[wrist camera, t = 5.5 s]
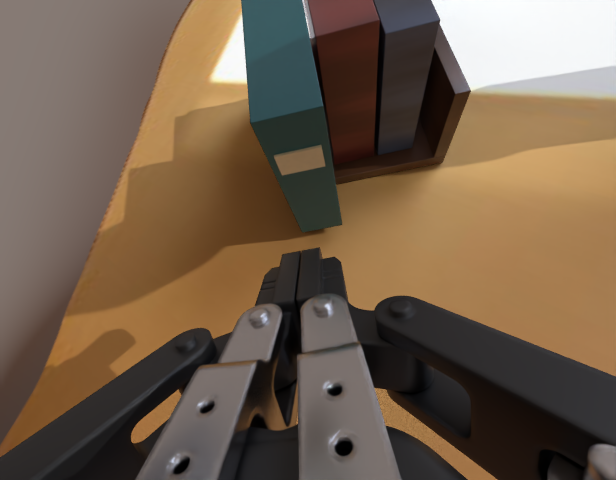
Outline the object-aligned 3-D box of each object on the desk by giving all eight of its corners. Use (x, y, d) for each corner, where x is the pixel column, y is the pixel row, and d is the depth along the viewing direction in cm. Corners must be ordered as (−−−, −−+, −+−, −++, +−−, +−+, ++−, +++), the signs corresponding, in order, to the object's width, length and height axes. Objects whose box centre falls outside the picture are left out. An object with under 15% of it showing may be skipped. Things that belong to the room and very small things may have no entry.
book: (289, 137, 35) (240, -10, 21) (323, 129, 34) (296, -26, 21) (302, 234, 30) (250, 126, 16) (342, 226, 30) (323, 108, 16)
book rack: (273, 96, 40) (224, -49, 26) (406, 63, 38) (430, -111, 24) (285, 195, 34) (229, 76, 20) (443, 162, 32) (503, 7, 18)
